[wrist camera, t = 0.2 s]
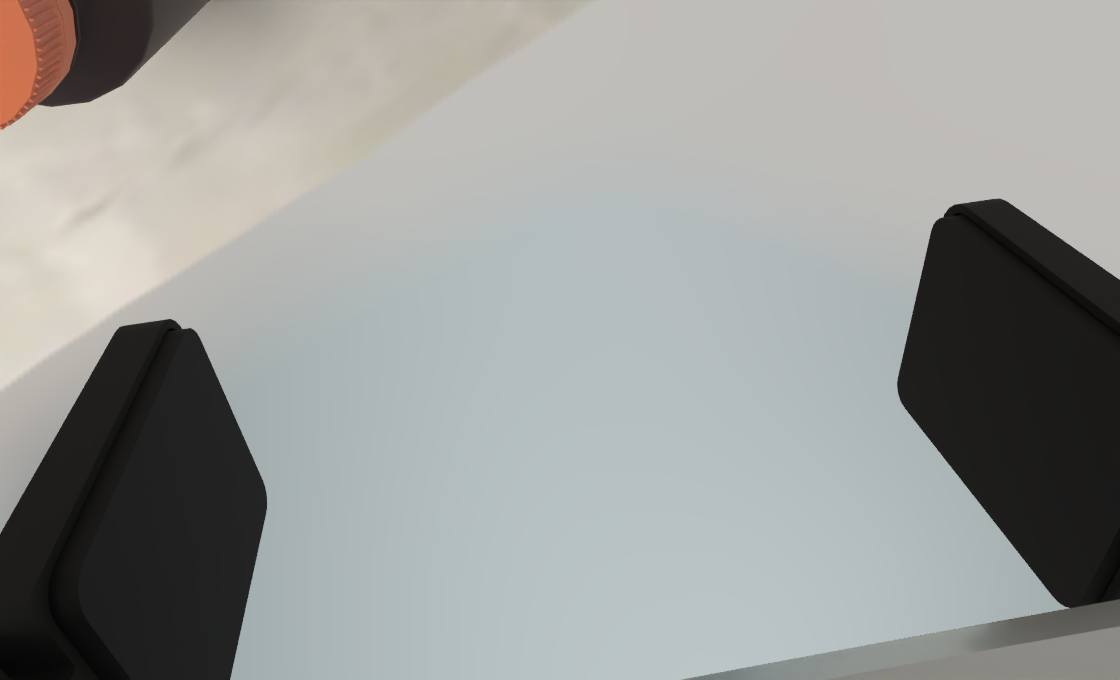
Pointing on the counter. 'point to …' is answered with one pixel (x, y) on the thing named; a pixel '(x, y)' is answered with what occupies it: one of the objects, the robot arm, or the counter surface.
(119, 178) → the counter surface
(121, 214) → the counter surface
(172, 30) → the vinegar
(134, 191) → the counter surface
